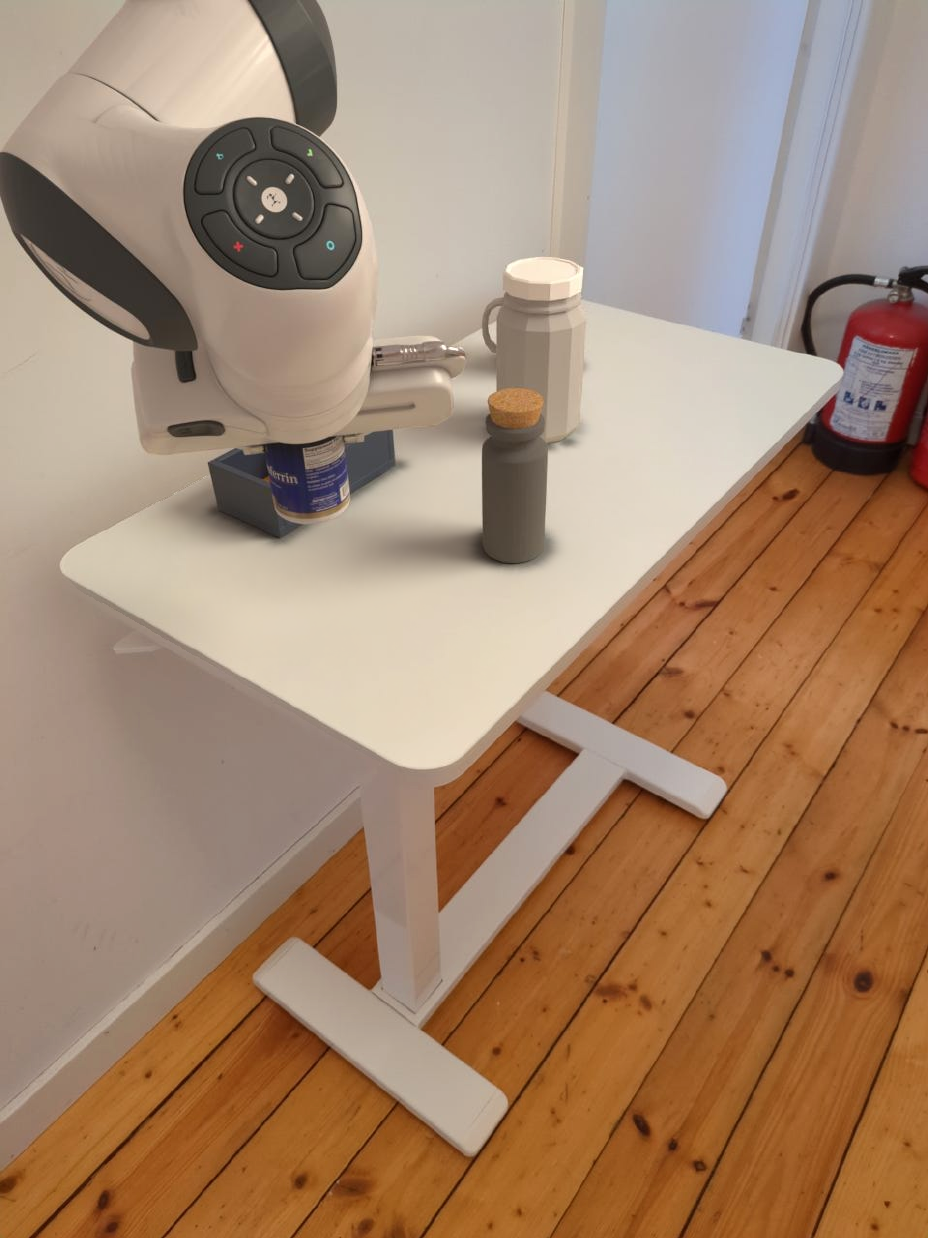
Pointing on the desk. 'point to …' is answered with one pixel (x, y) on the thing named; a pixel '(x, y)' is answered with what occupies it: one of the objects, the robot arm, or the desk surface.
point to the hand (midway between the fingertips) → (302, 438)
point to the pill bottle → (309, 479)
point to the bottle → (514, 476)
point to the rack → (248, 483)
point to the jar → (543, 338)
